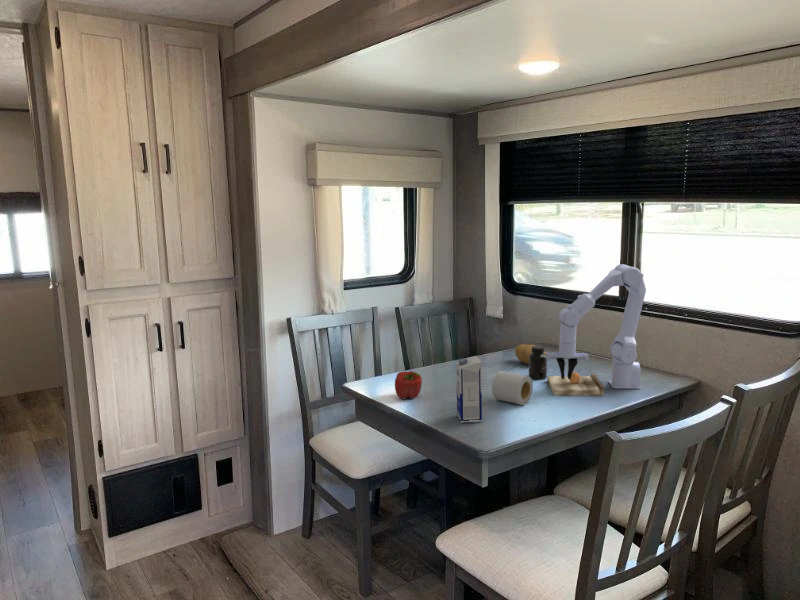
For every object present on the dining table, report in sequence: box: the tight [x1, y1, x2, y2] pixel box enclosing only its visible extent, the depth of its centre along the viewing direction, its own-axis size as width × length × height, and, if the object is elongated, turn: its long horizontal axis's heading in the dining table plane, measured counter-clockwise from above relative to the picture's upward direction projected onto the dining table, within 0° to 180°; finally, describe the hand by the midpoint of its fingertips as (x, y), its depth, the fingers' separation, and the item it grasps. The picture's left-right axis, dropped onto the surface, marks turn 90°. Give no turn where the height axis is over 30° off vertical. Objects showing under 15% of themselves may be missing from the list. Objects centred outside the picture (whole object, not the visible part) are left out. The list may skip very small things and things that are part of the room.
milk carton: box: [455, 355, 483, 421], centre depth 187 cm, size 7×7×20 cm
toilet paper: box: [491, 370, 534, 406], centre depth 202 cm, size 10×10×10 cm
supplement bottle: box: [528, 345, 548, 380], centre depth 227 cm, size 7×7×12 cm
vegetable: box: [394, 371, 423, 399], centre depth 210 cm, size 11×10×10 cm
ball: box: [569, 371, 581, 383], centre depth 214 cm, size 4×4×4 cm
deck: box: [547, 372, 605, 397], centre depth 214 cm, size 18×16×3 cm
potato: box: [514, 343, 547, 365], centre depth 245 cm, size 10×14×8 cm
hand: (565, 378), depth 214 cm, fingers closed
